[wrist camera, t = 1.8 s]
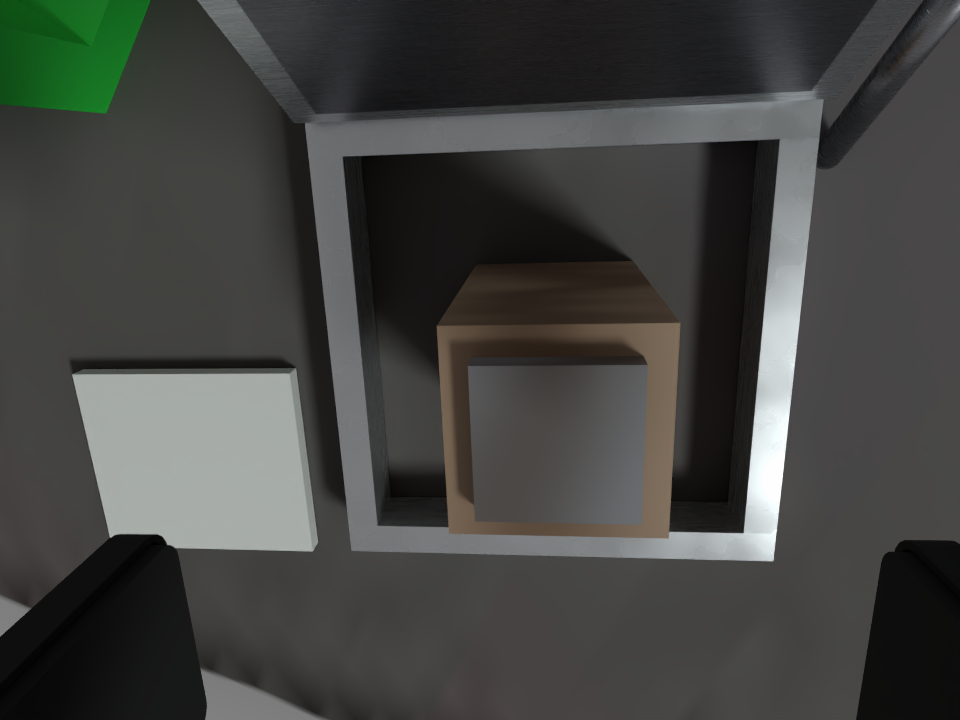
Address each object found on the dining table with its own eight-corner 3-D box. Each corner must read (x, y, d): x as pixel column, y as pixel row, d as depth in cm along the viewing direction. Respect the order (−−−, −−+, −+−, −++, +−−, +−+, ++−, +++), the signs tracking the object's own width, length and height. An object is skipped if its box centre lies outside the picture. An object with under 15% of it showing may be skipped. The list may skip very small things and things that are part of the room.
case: (868, -128, 18) (1864, -997, 4) (792, 523, 23) (1113, 1011, 10) (310, -84, 19) (-229, -615, 6) (369, 515, 25) (165, 928, 12)
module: (633, 260, 21) (686, 330, 13) (628, 407, 22) (673, 553, 14) (476, 264, 22) (432, 333, 13) (482, 407, 23) (445, 548, 15)
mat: (296, 367, 23) (289, 373, 23) (317, 542, 25) (312, 551, 25) (83, 369, 24) (72, 374, 23) (121, 537, 26) (112, 546, 26)
